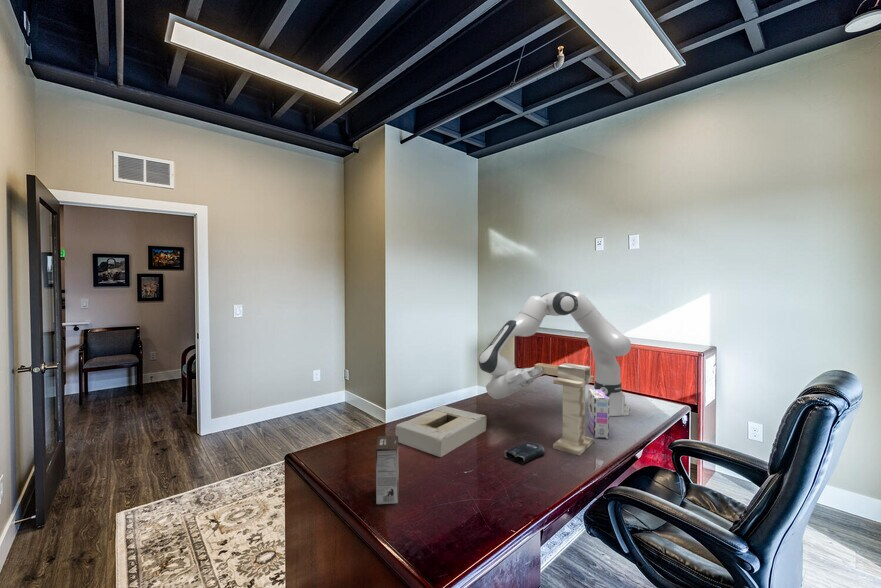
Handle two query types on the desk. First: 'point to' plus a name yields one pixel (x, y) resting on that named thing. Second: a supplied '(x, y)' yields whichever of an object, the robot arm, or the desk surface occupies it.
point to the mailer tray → (547, 369)
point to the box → (440, 430)
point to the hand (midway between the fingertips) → (545, 367)
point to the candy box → (598, 413)
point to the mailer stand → (573, 407)
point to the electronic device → (525, 452)
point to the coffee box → (387, 470)
